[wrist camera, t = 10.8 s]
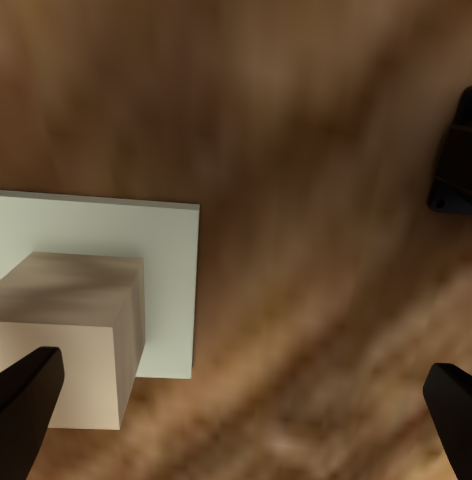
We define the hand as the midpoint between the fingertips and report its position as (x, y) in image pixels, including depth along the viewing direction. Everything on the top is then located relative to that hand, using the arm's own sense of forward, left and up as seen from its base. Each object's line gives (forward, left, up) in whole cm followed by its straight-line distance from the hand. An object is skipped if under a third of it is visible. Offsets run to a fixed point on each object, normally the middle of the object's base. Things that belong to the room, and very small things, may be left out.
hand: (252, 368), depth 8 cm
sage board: (+8, +6, -12) cm, 16 cm away
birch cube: (+8, +6, -11) cm, 15 cm away
